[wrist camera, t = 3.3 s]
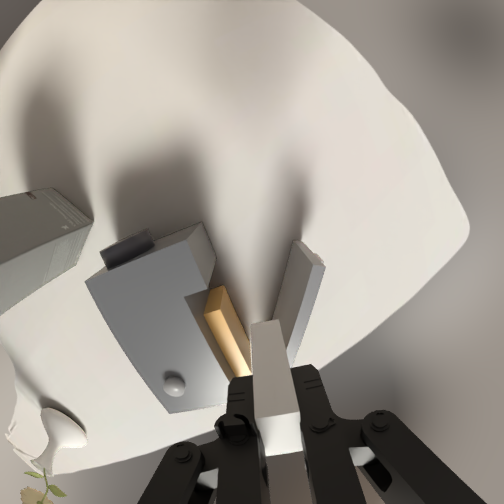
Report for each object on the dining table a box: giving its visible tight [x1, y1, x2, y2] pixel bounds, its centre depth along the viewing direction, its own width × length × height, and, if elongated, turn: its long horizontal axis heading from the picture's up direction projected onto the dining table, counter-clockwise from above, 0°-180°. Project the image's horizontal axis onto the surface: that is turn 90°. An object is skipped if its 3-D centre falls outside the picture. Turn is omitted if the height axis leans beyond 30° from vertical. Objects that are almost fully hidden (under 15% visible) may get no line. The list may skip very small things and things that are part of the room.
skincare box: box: [0, 188, 94, 316], centre depth 18 cm, size 8×7×16 cm
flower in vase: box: [20, 408, 88, 504], centre depth 24 cm, size 13×11×25 cm
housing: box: [85, 222, 252, 414], centre depth 25 cm, size 18×12×9 cm, turn 20°
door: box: [272, 240, 326, 368], centre depth 25 cm, size 12×2×8 cm, turn 168°
